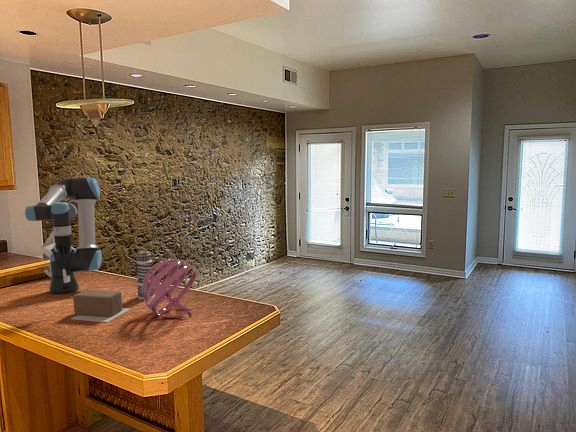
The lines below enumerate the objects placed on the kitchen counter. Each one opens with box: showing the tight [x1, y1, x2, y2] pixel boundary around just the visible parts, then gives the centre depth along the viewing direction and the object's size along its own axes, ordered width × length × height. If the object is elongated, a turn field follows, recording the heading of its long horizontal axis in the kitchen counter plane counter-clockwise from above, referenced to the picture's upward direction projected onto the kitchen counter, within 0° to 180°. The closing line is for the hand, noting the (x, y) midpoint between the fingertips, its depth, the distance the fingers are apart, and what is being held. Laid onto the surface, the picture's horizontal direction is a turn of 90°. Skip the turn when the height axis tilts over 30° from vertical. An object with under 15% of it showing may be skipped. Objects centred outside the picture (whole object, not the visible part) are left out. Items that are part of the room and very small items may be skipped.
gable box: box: [40, 230, 76, 279], centre depth 287 cm, size 22×13×28 cm, turn 42°
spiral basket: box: [142, 257, 198, 319], centre depth 209 cm, size 28×28×27 cm
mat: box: [70, 307, 131, 323], centre depth 212 cm, size 18×20×1 cm
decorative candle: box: [134, 250, 155, 300], centre depth 235 cm, size 9×9×25 cm
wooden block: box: [72, 289, 123, 317], centre depth 212 cm, size 10×10×20 cm
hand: (67, 281), depth 214 cm, fingers closed
